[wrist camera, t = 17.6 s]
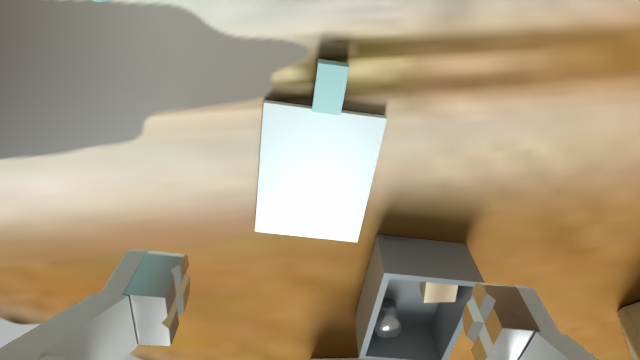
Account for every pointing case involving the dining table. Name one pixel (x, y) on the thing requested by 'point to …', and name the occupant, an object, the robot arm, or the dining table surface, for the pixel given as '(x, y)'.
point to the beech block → (437, 292)
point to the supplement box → (337, 359)
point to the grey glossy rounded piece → (388, 319)
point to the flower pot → (631, 328)
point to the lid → (317, 162)
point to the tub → (414, 297)
